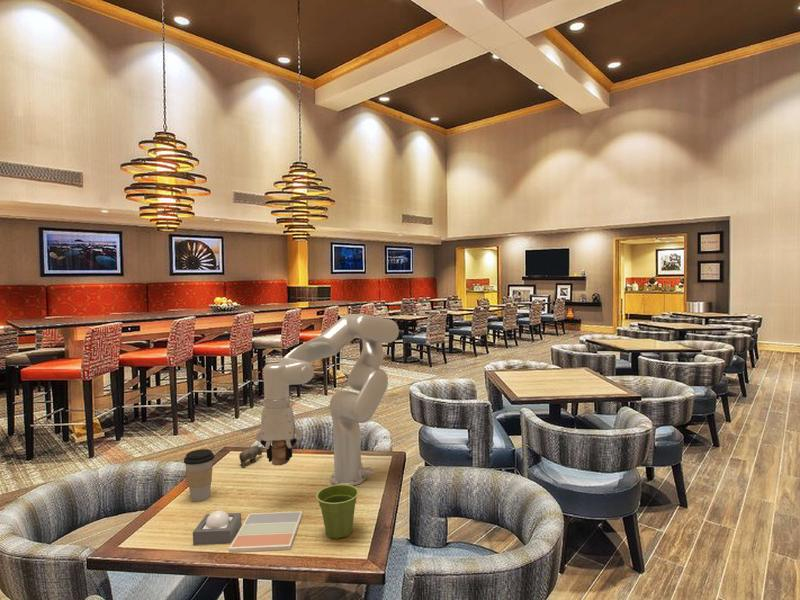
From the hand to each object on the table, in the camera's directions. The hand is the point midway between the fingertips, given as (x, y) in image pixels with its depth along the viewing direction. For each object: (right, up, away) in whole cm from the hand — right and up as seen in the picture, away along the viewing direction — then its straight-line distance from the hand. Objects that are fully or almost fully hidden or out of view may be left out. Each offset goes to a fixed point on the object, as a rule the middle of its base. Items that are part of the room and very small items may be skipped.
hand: (279, 459), depth 149 cm
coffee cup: (-28, -16, +7) cm, 33 cm away
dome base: (-13, -16, -16) cm, 26 cm away
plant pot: (+21, -15, -17) cm, 31 cm away
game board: (+1, -15, -16) cm, 22 cm away
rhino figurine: (-21, -14, +39) cm, 46 cm away
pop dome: (-13, -16, -16) cm, 26 cm away
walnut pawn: (0, -1, 0) cm, 1 cm away
